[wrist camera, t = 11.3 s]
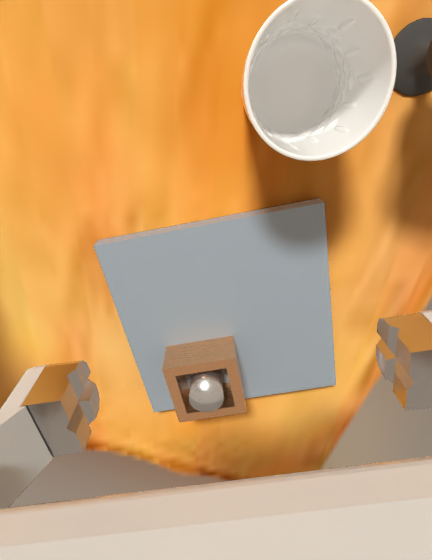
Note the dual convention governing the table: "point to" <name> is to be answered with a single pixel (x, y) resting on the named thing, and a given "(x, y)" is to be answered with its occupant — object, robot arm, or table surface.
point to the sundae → (414, 58)
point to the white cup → (319, 76)
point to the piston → (206, 390)
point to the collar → (200, 360)
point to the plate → (229, 295)
